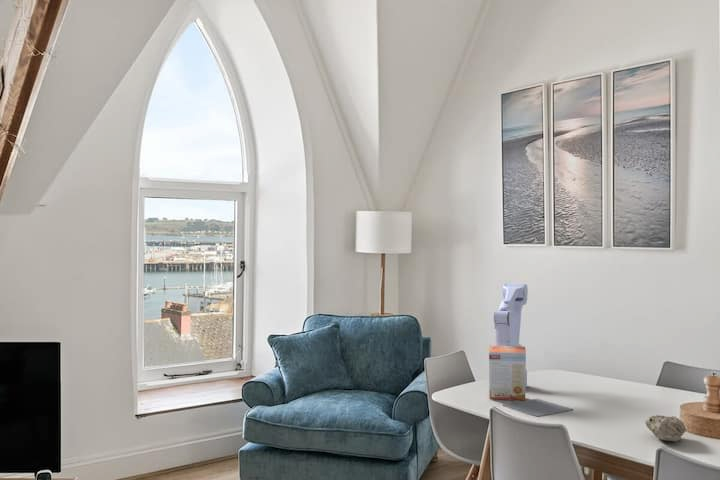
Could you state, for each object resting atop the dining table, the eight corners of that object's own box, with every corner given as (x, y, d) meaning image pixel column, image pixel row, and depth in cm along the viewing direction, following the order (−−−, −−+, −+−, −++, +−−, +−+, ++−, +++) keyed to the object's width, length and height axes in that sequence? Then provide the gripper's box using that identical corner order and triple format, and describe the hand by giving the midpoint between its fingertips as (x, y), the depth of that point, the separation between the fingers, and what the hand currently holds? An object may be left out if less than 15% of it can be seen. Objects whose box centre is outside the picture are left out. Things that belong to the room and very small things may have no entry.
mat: (537, 399, 264) (537, 398, 264) (573, 409, 249) (573, 409, 249) (502, 405, 255) (502, 404, 255) (537, 416, 240) (537, 415, 240)
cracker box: (524, 392, 267) (525, 345, 261) (525, 401, 262) (526, 353, 255) (489, 391, 270) (489, 344, 264) (488, 399, 265) (488, 351, 258)
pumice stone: (688, 450, 204) (688, 423, 203) (646, 445, 208) (646, 419, 208) (684, 436, 216) (684, 412, 216) (644, 432, 221) (644, 408, 221)
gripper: (483, 338, 272) (483, 372, 272) (507, 344, 260) (507, 379, 260) (496, 337, 276) (496, 370, 276) (521, 342, 263) (521, 377, 263)
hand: (502, 374), depth 268 cm, fingers closed
